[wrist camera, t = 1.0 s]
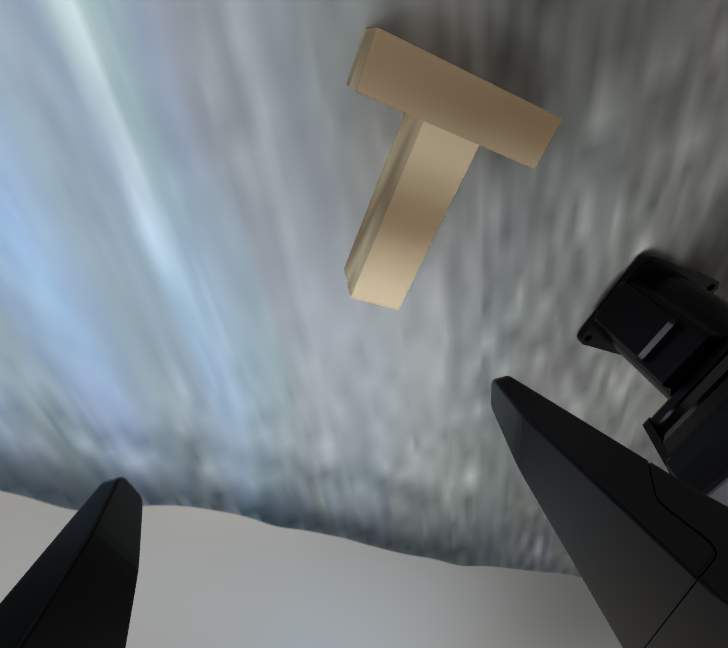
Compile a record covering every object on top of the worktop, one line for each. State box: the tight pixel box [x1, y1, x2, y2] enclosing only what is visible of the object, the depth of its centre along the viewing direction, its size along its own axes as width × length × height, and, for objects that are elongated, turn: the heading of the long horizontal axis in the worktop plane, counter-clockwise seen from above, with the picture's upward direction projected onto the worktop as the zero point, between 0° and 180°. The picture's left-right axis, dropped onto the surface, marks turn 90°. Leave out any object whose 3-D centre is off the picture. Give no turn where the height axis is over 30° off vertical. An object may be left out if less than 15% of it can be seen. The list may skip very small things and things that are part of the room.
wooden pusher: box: [344, 27, 563, 310], centre depth 19 cm, size 10×8×3 cm
